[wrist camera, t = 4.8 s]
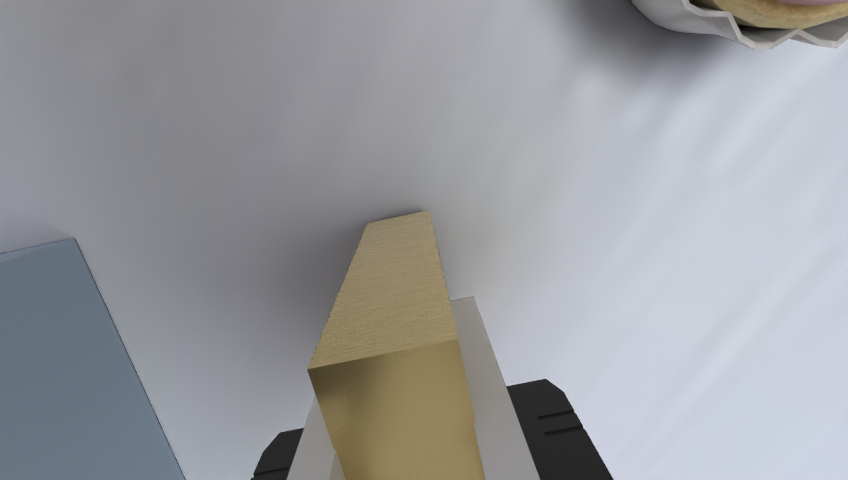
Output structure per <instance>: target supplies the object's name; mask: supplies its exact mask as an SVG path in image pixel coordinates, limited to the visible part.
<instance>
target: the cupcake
mask: <svg viewBox="0 0 848 480" xmlns="http://www.w3.org/2000/svg"><path fill="white" fill-rule="evenodd" d="M631 1H632V3H633V4H634V5H635V7H636V8H637V9H638V10H639V11H640V12H641V13H642V14H643V15H644V16H646V17H647V18H648V19H649V20H650V21H651V22H653V23H654V24H656V25H659V26H661V27H664V28H666V29H669V30H672V31H677V32H683V33H695V34H715V35H720V36H723V37H725V38H728V39H730V40H733V41H735V42H738V43H740V44H743V45H745V46H747V47H750V48H752V49H772V48H774V47H775V46H777V45H779V44H781V43H782V42H784V41H786V40H788V39H793V40H797V41H801V42H805V43H809V44H813V45H817V46H822V47H830V48H838V47H839V46H840V45H841V44H843V43H844V42H845V41H846V40H847V39H848V0H631Z"/></svg>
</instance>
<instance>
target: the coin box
mask: <svg viewBox="0 0 848 480" xmlns="http://www.w3.org/2000/svg"><path fill="white" fill-rule="evenodd" d="M0 480H185V478H184V476H183V474H182V472H181V470H180V468H179V465H178V463H177V461H176V459H175V457H174V454H173V452H172V450H171V448H170V446H169V444H168V441H167V439H166V437H165V435H164V433H163V430H162V428H161V426H160V424H159V422H158V420H157V417H156V415H155V413H154V411H153V409H152V406H151V404H150V402H149V400H148V398H147V396H146V393H145V391H144V389H143V387H142V385H141V382H140V380H139V378H138V376H137V374H136V372H135V369H134V367H133V365H132V363H131V361H130V358H129V356H128V354H127V352H126V350H125V348H124V345H123V343H122V341H121V339H120V337H119V334H118V332H117V330H116V328H115V326H114V324H113V321H112V319H111V317H110V315H109V313H108V310H107V308H106V306H105V304H104V302H103V300H102V297H101V295H100V293H99V291H98V289H97V286H96V284H95V282H94V280H93V278H92V275H91V273H90V271H89V269H88V267H87V265H86V262H85V260H84V258H83V256H82V254H81V251H80V249H79V247H78V245H77V243H76V241H75V238H72V239H67V240H62V241H58V242H53V243H48V244H43V245H39V246H34V247H29V248H24V249H20V250H15V251H10V252H5V253H1V254H0Z"/></svg>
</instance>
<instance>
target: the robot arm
mask: <svg viewBox="0 0 848 480" xmlns="http://www.w3.org/2000/svg"><path fill="white" fill-rule="evenodd" d="M450 305H451V309H452V314H453V318H454V322H455V327H456V331H457V336H458V340H459V345H460V350H461V355H462V360H463V365H464V370H465V375H466V380H467V385H468V390H469V394H470V399H471V404H472V409H473V414H474V419H475V423H474V428H475V433H476V437H477V442H478V447H479V452H480V457H481V462H482V467H483V472H484V477H485V480H613V478H612V476H611V474H610V473H609V471H608V469H607V467H606V466H605V464H604V462H603V460H602V459H601V457H600V455H599V453H598V452H597V450H596V448H595V446H594V445H593V443H592V441H591V439H590V438H589V436H588V434H587V432H586V431H585V429H583V426H582V424H581V422H580V420H579V418H578V416H577V415H576V413H574V409H573V408H572V406H571V404H570V402H569V401H568V399H567V397H566V395H565V394H564V392H563V391H562V390H560V389H559V388H558V387H556V386H555V385H553V384H552V383H551V382H549V381H548V380H547V379H542V380H537V381H532V382H527V383H522V384H517V385H512V386H506V385H505V382H504V379H503V377H502V374H501V371H500V369H499V366H498V363H497V360H496V358H495V355H494V352H493V349H492V347H491V344H490V341H489V338H488V336H487V333H486V330H485V327H484V325H483V322H482V319H481V316H480V314H479V311H478V308H477V305H476V303H475V300H474V297H473V296H471V297H466V298H461V299H456V300H452V301H450ZM251 480H346V479H345V476H344V473H343V470H342V467H341V464H340V461H339V458H338V455H337V452H336V450H334V449H333V446H332V443H331V440H330V436H329V433H328V430H327V427H326V424H325V421H324V418H323V415H322V412H321V409H320V406H319V403H318V400H317V397H316V395H315V398H314V401H313V404H312V407H311V410H310V412H309V415H308V418H307V421H306V424H305V427H304V428H301V429H296V430H291V431H286V432H281V433H279V434H278V435H277V437H276V438H275V439H274V440H273V441H272V442H271V444H270V445H269V446H268V447H267V448H266V449H265V451H264V452H263V453H262V456H261V458H260V460H259V462H258V465H257V467H256V469H255V472H254V477H253V478H251Z"/></svg>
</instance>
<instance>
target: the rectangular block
mask: <svg viewBox="0 0 848 480" xmlns="http://www.w3.org/2000/svg"><path fill="white" fill-rule="evenodd" d="M307 370H308V373H309V376H310V379H311V382H312V385H313V388H314V391H315V394H316V397H317V400H318V403H319V406H320V409H321V412H322V415H323V418H324V421H325V424H326V427H327V430H328V433H329V436H330V440H331V443H332V446H333V449H334V450H336V452H337V455H338V458H339V461H340V464H341V467H342V470H343V473H344V476H345V479H346V480H485V477H484V472H483V467H482V462H481V457H480V452H479V447H478V442H477V437H476V433H475V428H474V423H475V419H474V414H473V409H472V404H471V399H470V394H469V390H468V385H467V380H466V375H465V370H464V365H463V360H462V355H461V350H460V345H459V340H458V336H457V331H456V327H455V322H454V318H453V314H452V309H451V305H450V300H449V296H448V291H447V287H446V282H445V278H444V274H443V269H442V265H441V260H440V256H439V251H438V247H437V243H436V238H435V234H434V229H433V225H432V220H431V216H430V212H429V210H428V211H423V212H418V213H413V214H408V215H403V216H399V217H394V218H389V219H384V220H379V221H375V222H370V223H367V226H366V228H365V230H364V233H363V235H362V238H361V240H360V243H359V245H358V247H357V250H356V252H355V255H354V257H353V260H352V262H351V264H350V267H349V269H348V272H347V274H346V277H345V279H344V281H343V284H342V286H341V289H340V291H339V294H338V296H337V299H336V301H335V303H334V306H333V308H332V311H331V313H330V316H329V318H328V320H327V323H326V325H325V328H324V330H323V333H322V335H321V337H320V340H319V342H318V345H317V347H316V350H315V352H314V354H313V357H312V359H311V362H310V364H309V367H308V369H307Z"/></svg>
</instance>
